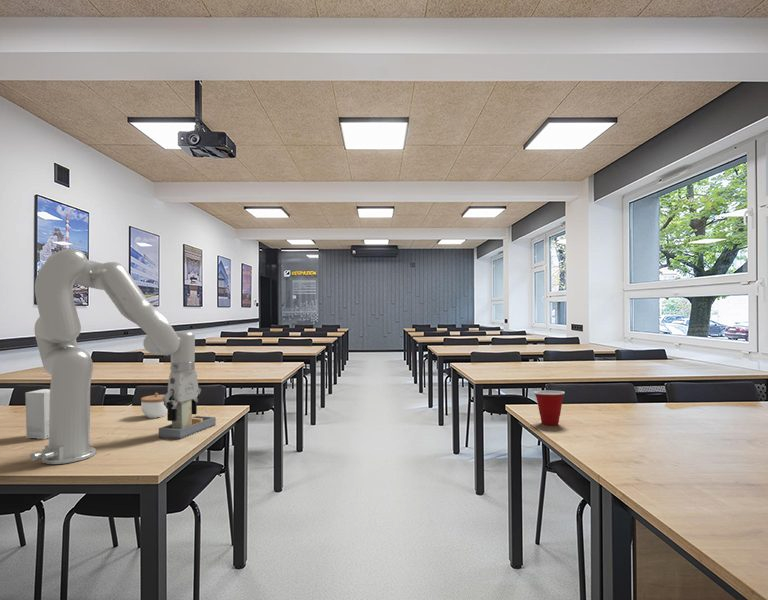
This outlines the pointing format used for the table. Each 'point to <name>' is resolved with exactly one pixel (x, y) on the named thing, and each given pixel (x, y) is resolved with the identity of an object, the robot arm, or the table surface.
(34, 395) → the skincare box
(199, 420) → the block
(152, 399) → the lidded jar
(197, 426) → the gray tray
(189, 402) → the box
